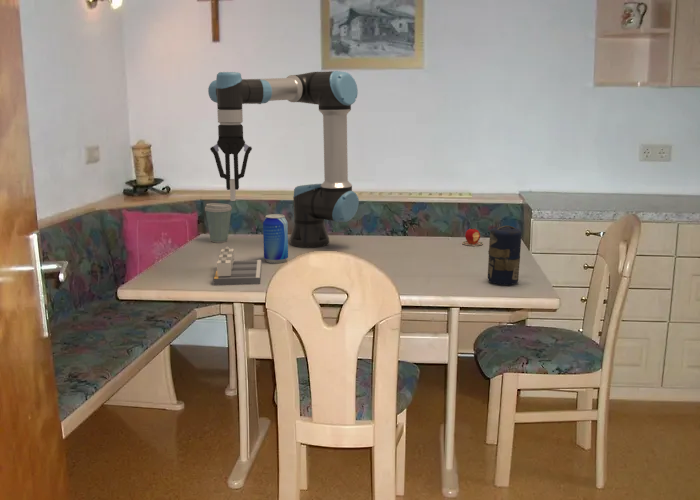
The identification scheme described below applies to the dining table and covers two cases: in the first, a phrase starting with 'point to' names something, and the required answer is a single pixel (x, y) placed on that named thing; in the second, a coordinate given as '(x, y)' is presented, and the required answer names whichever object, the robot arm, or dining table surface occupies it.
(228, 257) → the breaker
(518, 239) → the canister
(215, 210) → the disposable coffee cup
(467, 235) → the apple
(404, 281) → the dining table surface
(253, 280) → the panel
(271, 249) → the beer can
